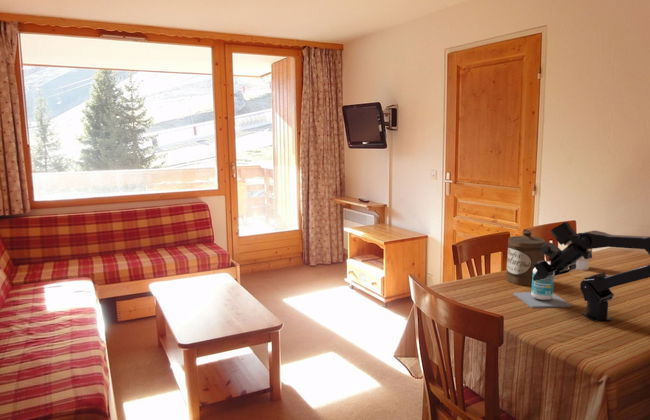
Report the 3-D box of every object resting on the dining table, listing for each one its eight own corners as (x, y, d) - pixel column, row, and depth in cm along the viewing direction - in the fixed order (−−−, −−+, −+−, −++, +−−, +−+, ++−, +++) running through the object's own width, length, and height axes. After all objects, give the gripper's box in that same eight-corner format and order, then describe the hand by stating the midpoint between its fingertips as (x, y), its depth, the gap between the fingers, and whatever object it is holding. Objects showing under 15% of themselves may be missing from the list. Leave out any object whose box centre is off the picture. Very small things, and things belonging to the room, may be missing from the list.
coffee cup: (565, 266, 224) (567, 235, 221) (578, 264, 227) (580, 233, 225) (582, 271, 216) (585, 239, 213) (595, 268, 219) (598, 237, 217)
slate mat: (571, 306, 172) (572, 305, 172) (531, 307, 171) (531, 306, 171) (550, 293, 187) (550, 291, 187) (513, 294, 186) (513, 292, 186)
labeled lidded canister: (498, 277, 207) (501, 228, 204) (525, 274, 212) (528, 226, 209) (523, 287, 194) (526, 235, 190) (551, 283, 199) (555, 232, 195)
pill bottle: (530, 298, 177) (532, 263, 175) (531, 293, 184) (533, 259, 182) (552, 301, 174) (555, 265, 172) (552, 295, 180) (555, 261, 178)
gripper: (570, 233, 177) (541, 256, 188) (540, 240, 167) (511, 263, 178) (590, 258, 171) (559, 280, 182) (559, 266, 161) (529, 289, 172)
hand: (539, 277), depth 179 cm, fingers closed on pill bottle, 7 cm apart
